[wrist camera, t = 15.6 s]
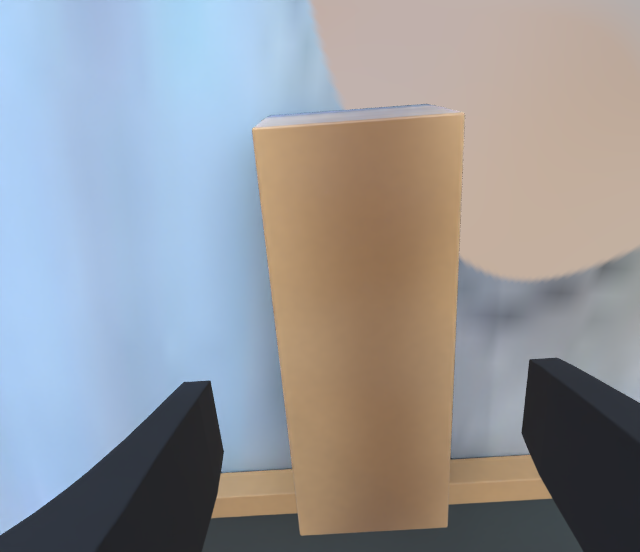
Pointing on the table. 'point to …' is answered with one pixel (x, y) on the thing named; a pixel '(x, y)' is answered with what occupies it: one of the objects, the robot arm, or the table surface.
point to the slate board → (400, 545)
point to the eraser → (365, 307)
